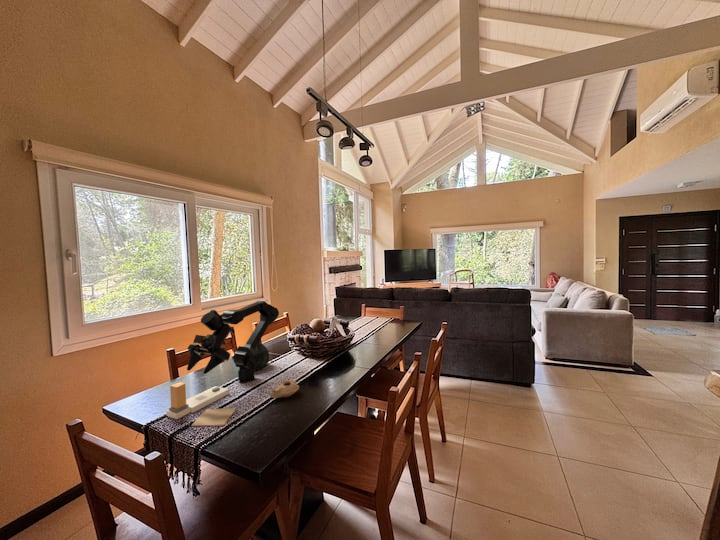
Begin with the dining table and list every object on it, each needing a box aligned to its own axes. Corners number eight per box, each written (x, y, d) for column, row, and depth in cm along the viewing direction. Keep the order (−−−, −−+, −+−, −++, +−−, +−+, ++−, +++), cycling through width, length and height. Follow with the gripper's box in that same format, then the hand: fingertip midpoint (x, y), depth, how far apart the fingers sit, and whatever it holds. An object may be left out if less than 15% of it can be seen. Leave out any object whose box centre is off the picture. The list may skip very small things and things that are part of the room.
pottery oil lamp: (264, 398, 119) (266, 379, 122) (290, 399, 126) (291, 381, 129) (274, 397, 113) (276, 377, 116) (301, 398, 120) (302, 379, 124)
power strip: (215, 390, 127) (215, 384, 127) (229, 393, 124) (228, 387, 124) (164, 415, 108) (164, 408, 107) (178, 420, 104) (178, 412, 104)
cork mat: (206, 410, 111) (206, 409, 111) (236, 409, 111) (236, 407, 111) (191, 426, 100) (190, 425, 100) (223, 425, 100) (223, 424, 100)
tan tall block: (180, 410, 111) (179, 381, 111) (188, 412, 110) (187, 383, 109) (169, 415, 107) (167, 386, 107) (177, 418, 106) (175, 388, 105)
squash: (234, 355, 157) (239, 338, 149) (262, 351, 166) (268, 334, 157) (239, 379, 148) (244, 363, 140) (268, 373, 157) (275, 357, 149)
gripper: (190, 324, 123) (164, 359, 113) (223, 328, 115) (198, 365, 105) (207, 338, 130) (185, 372, 121) (239, 342, 123) (218, 378, 113)
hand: (195, 371), depth 115 cm, fingers open, 9 cm apart
